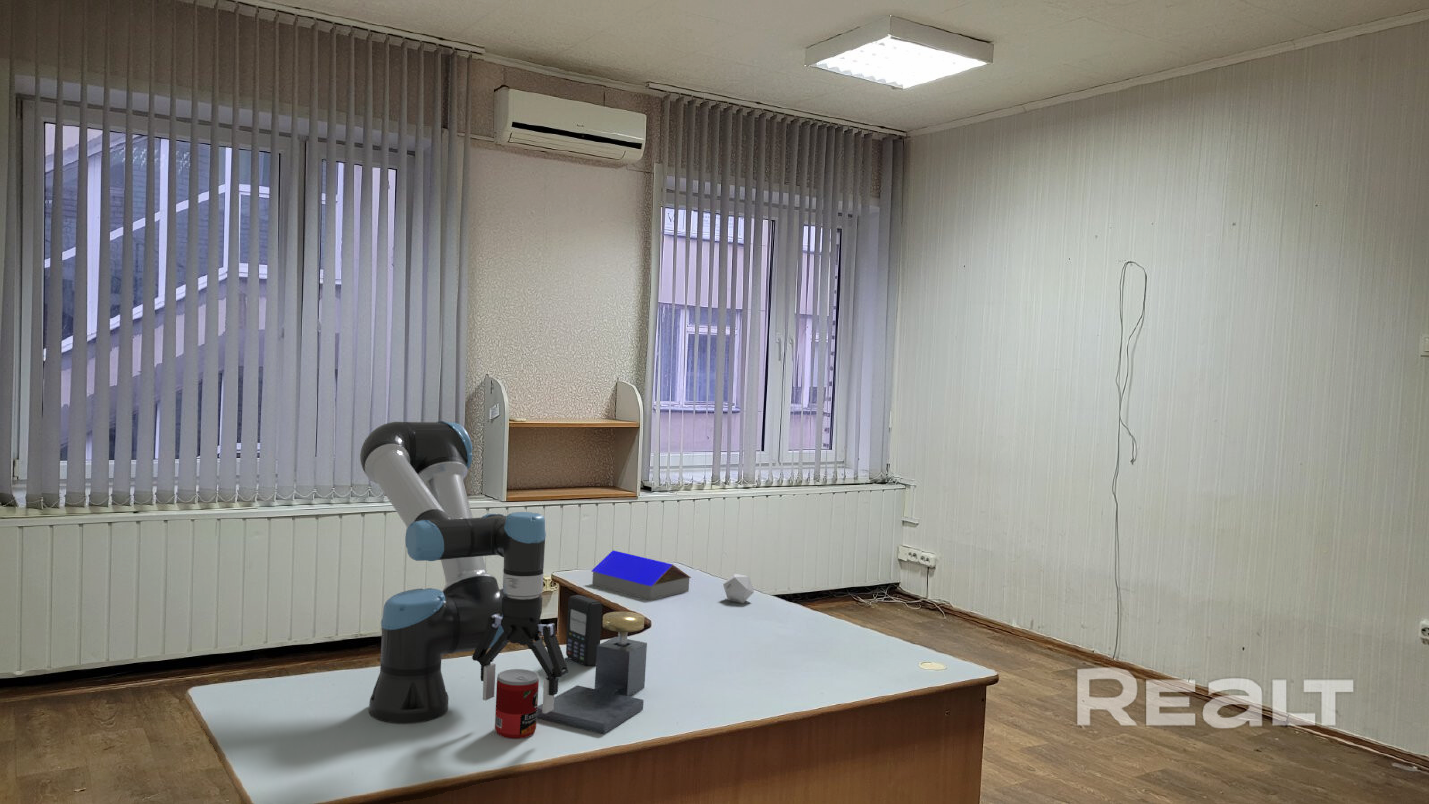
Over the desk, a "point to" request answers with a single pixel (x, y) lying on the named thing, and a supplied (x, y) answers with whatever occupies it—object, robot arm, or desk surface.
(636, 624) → the door knob
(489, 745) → the desk surface
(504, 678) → the canned food
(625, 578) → the house
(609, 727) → the grey stepped stand
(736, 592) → the die
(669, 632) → the desk surface
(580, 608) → the card reader
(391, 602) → the robot arm
